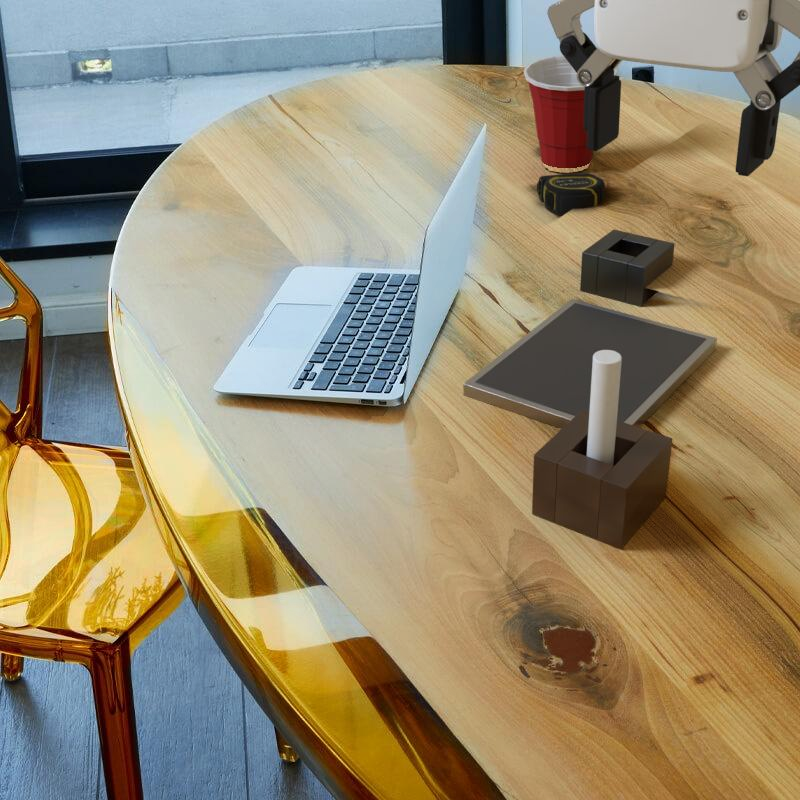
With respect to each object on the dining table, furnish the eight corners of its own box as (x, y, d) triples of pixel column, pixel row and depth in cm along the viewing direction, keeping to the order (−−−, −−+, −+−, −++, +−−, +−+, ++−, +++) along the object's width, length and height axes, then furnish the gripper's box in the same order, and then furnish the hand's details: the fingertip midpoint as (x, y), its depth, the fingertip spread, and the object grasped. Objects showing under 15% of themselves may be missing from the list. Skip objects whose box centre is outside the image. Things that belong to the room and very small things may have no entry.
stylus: (614, 504, 75) (627, 354, 68) (602, 518, 73) (613, 366, 67) (591, 496, 76) (601, 346, 69) (578, 509, 74) (587, 358, 68)
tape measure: (595, 198, 123) (597, 167, 121) (610, 221, 117) (612, 188, 115) (536, 202, 122) (536, 170, 120) (547, 225, 116) (549, 192, 114)
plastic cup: (517, 181, 128) (519, 79, 122) (525, 150, 137) (527, 54, 131) (610, 183, 126) (617, 80, 120) (611, 152, 135) (618, 55, 129)
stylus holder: (670, 281, 104) (674, 243, 102) (641, 307, 100) (644, 267, 97) (610, 266, 107) (613, 229, 105) (579, 290, 103) (581, 252, 101)
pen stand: (666, 497, 75) (672, 438, 72) (621, 550, 71) (627, 488, 68) (579, 466, 79) (582, 408, 76) (531, 514, 74) (533, 454, 71)
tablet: (715, 349, 92) (717, 337, 92) (619, 448, 80) (620, 435, 80) (571, 309, 100) (572, 298, 99) (463, 395, 88) (463, 382, 87)
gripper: (887, -162, 55) (835, 159, 65) (585, -162, 64) (576, 119, 74) (842, -144, 50) (793, 201, 60) (521, -146, 59) (521, 153, 69)
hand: (673, 156), depth 67 cm, fingers open, 9 cm apart
